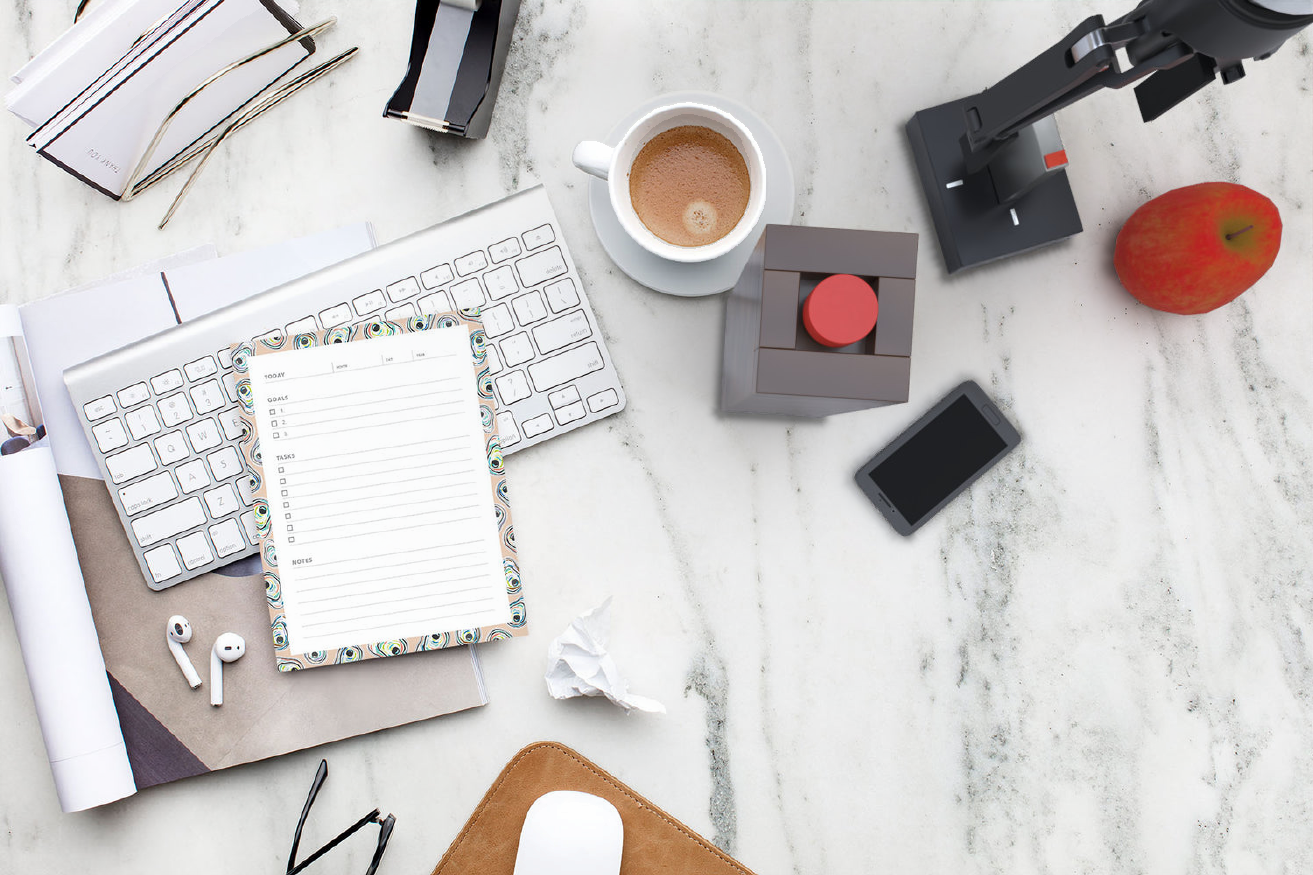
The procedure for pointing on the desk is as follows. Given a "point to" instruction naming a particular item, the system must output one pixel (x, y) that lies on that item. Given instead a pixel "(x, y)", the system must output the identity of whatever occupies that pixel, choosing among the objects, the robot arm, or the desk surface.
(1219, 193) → the apple
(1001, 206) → the panel
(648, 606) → the desk surface
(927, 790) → the desk surface
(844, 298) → the button
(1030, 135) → the stove knob
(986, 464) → the cell phone
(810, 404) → the block
